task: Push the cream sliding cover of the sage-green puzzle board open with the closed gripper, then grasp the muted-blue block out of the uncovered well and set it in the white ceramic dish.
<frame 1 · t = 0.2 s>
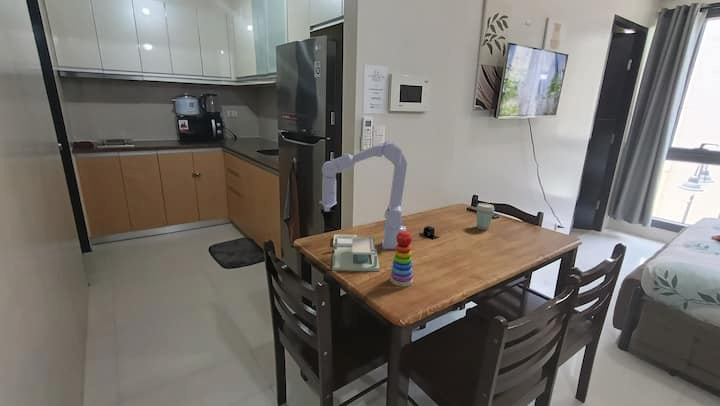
hand: (329, 222, 141), 10 cm above the table, fingers open, 7 cm apart
block: (362, 259, 131), resting on puzzle board
dish: (345, 242, 147), on the table
coffee cup: (482, 228, 171), on the table
cover: (362, 244, 129), point 7 cm above the table, slide at 0.0 cm
stacking toy: (401, 282, 116), on the table
puzzle board: (362, 260, 131), on the table
black box: (428, 237, 159), on the table
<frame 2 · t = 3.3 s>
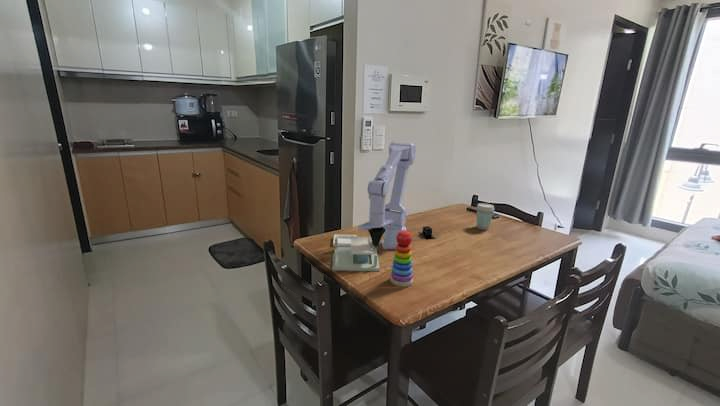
hand: (375, 245, 129), 6 cm above the table, fingers closed
cover: (361, 244, 129), point 7 cm above the table, slide at 0.5 cm, touching gripper
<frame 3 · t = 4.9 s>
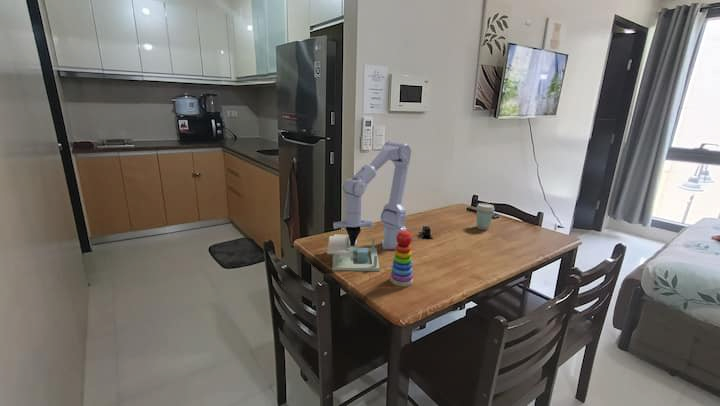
hand: (352, 245, 129), 6 cm above the table, fingers closed
cover: (338, 243, 129), point 7 cm above the table, slide at 9.1 cm, touching gripper
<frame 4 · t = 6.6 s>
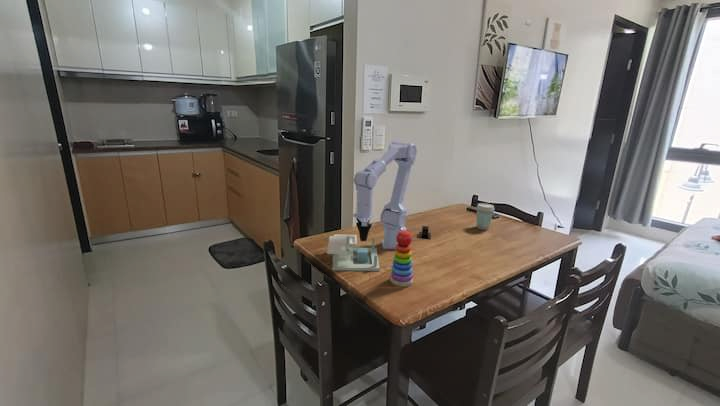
hand: (363, 237, 128), 9 cm above the table, fingers open, 5 cm apart
cover: (338, 243, 129), point 7 cm above the table, slide at 9.1 cm
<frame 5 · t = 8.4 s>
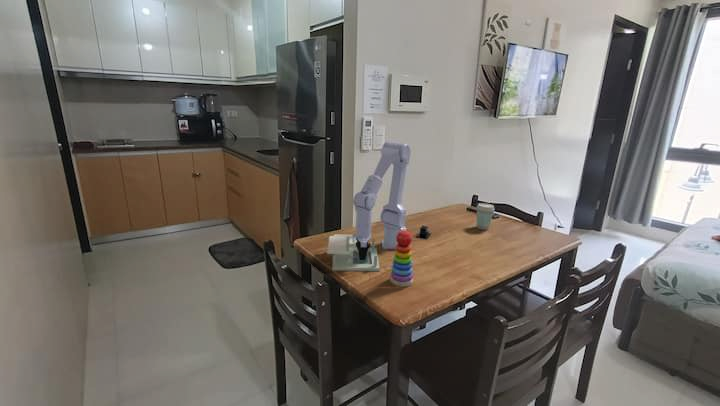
hand: (362, 257, 130), 1 cm above the table, fingers closed on block, 4 cm apart
block: (362, 259, 131), resting on puzzle board, touching gripper
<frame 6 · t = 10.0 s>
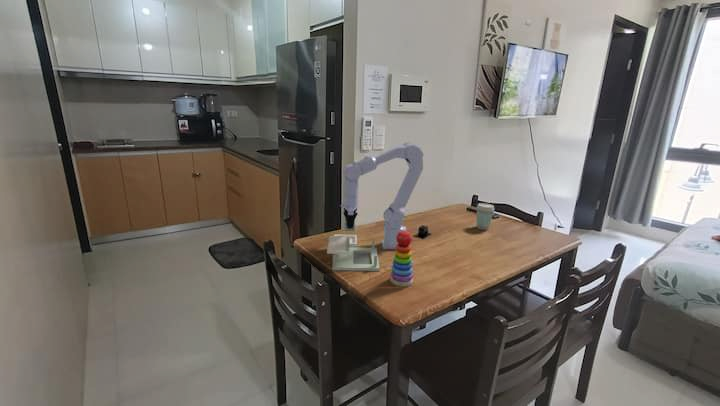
hand: (350, 226, 140), 9 cm above the table, fingers closed on block, 4 cm apart
block: (349, 229, 140), point 8 cm above the table, touching gripper
when the fingers open (3 cm above the table, at t = 11.7 s): block drops 1 cm, resting on dish.
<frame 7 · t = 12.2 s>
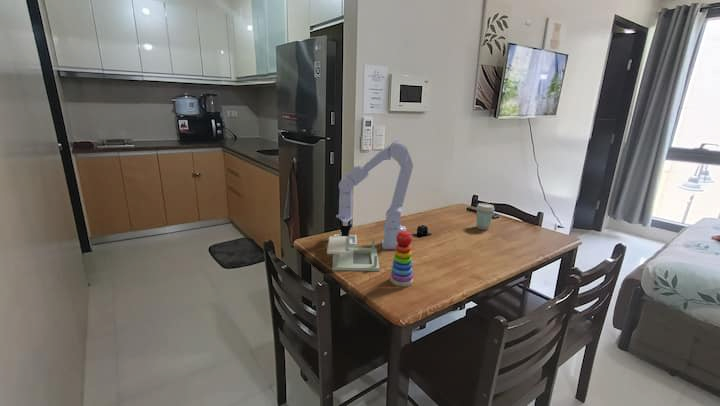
hand: (345, 235, 146), 3 cm above the table, fingers open, 7 cm apart
block: (344, 241, 147), resting on dish
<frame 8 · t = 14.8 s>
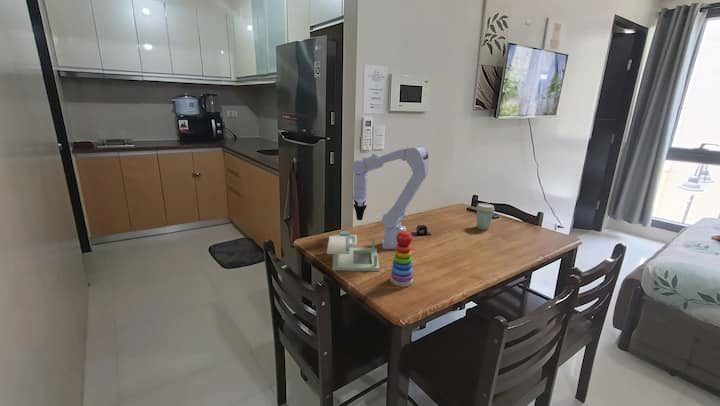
hand: (359, 217, 150), 10 cm above the table, fingers open, 7 cm apart
at the end: cover slide at 9.1 cm; block inside the target area on the dish (0.2 cm from its centre), point 0.5 cm above the dish's base; the gripper is holding nothing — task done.
